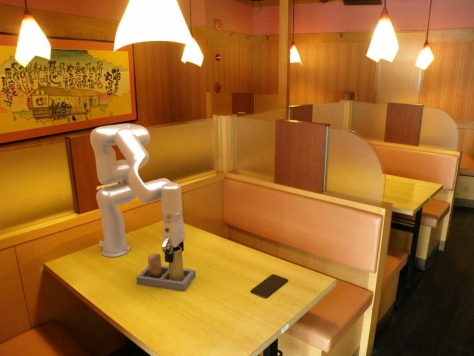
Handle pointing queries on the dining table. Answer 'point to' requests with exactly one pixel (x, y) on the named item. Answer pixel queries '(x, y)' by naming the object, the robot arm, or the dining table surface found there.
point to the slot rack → (166, 279)
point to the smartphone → (269, 286)
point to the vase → (176, 265)
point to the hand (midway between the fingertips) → (174, 256)
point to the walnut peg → (154, 266)
